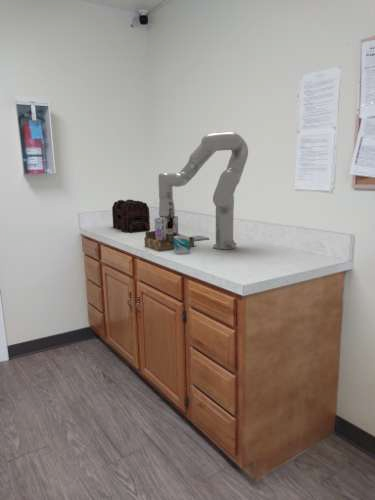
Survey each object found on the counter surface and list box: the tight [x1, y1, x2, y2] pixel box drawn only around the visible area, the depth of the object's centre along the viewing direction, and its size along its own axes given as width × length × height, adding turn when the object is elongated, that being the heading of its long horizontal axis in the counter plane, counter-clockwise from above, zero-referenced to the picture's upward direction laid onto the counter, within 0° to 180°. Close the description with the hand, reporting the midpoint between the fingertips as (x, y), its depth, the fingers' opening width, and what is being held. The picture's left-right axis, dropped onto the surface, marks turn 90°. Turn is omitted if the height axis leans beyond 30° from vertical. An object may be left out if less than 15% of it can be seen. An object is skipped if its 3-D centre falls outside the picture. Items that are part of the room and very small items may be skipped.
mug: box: [174, 235, 191, 255], centre depth 207 cm, size 8×12×8 cm
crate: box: [111, 199, 151, 234], centre depth 288 cm, size 35×19×21 cm, turn 28°
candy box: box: [154, 215, 179, 240], centre depth 223 cm, size 14×6×16 cm, turn 143°
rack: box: [143, 230, 195, 252], centre depth 222 cm, size 18×22×8 cm
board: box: [190, 235, 210, 242], centre depth 242 cm, size 11×19×1 cm, turn 122°
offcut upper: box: [168, 234, 183, 244], centre depth 216 cm, size 3×8×4 cm, turn 120°
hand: (166, 227), depth 223 cm, fingers closed on candy box, 7 cm apart
